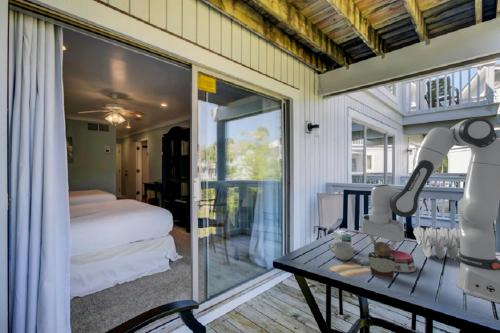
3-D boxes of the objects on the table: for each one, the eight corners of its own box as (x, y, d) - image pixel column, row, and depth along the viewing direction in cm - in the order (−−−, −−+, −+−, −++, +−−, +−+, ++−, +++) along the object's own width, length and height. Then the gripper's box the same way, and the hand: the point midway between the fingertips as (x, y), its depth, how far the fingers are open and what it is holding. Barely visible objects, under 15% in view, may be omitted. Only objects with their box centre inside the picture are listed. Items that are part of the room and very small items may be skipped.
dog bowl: (388, 257, 142) (388, 245, 142) (423, 269, 126) (423, 255, 126) (367, 264, 133) (367, 251, 133) (402, 276, 117) (402, 262, 117)
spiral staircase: (473, 270, 133) (421, 264, 138) (456, 246, 148) (410, 242, 154) (484, 243, 125) (428, 238, 131) (465, 222, 140) (416, 218, 146)
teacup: (356, 258, 142) (356, 244, 142) (349, 263, 134) (349, 248, 134) (333, 252, 151) (333, 239, 151) (325, 257, 143) (325, 243, 143)
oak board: (373, 272, 124) (373, 270, 124) (347, 279, 116) (347, 278, 116) (350, 263, 136) (350, 261, 136) (326, 269, 128) (326, 267, 128)
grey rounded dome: (376, 262, 134) (376, 260, 134) (368, 266, 129) (368, 264, 129) (361, 258, 141) (361, 256, 142) (352, 261, 136) (352, 259, 136)
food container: (397, 275, 118) (397, 254, 118) (397, 279, 113) (396, 258, 113) (369, 269, 125) (369, 250, 125) (367, 274, 120) (367, 253, 120)
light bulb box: (352, 251, 153) (351, 234, 153) (342, 252, 152) (341, 234, 152) (343, 246, 164) (342, 229, 164) (333, 246, 163) (333, 230, 163)
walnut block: (390, 254, 118) (390, 244, 118) (383, 256, 116) (383, 245, 116) (380, 251, 122) (380, 241, 123) (374, 253, 120) (374, 243, 120)
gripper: (407, 221, 112) (408, 251, 111) (367, 214, 130) (368, 240, 130) (398, 222, 109) (399, 253, 109) (359, 215, 127) (360, 242, 127)
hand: (382, 246), depth 119 cm, fingers open, 8 cm apart
